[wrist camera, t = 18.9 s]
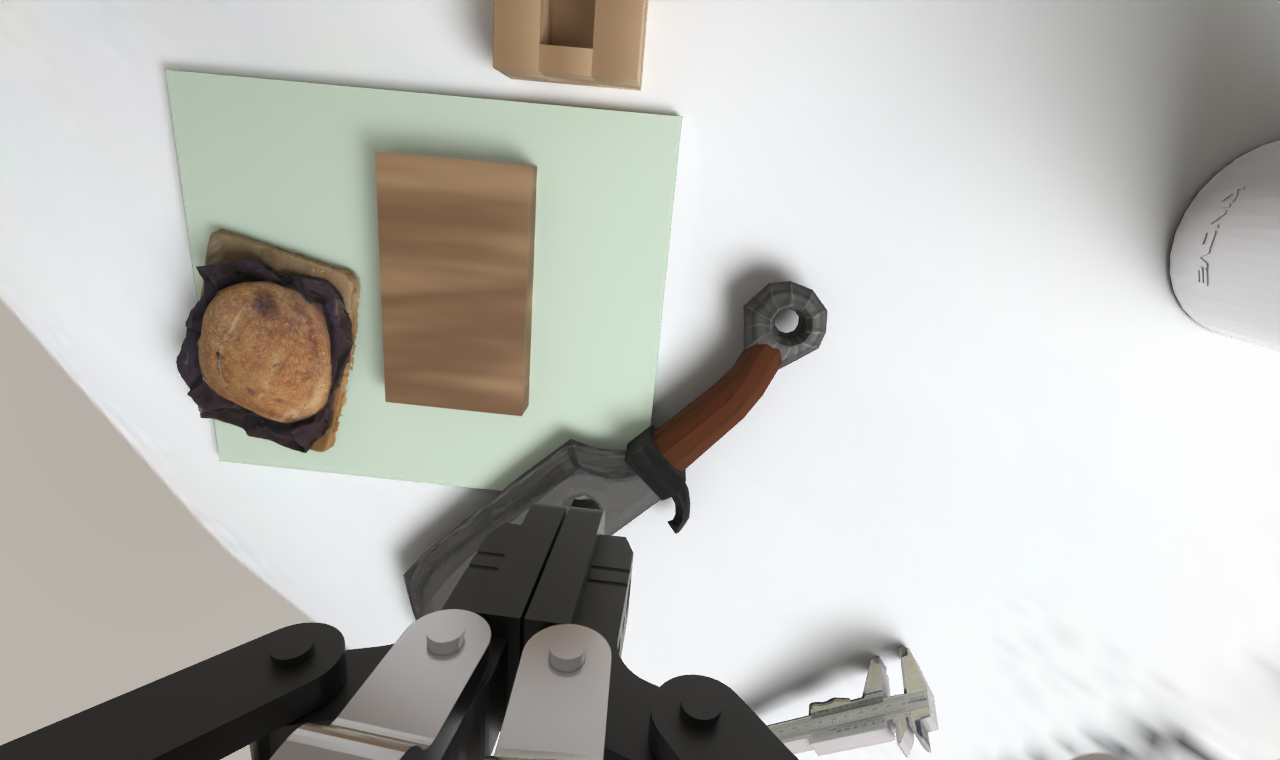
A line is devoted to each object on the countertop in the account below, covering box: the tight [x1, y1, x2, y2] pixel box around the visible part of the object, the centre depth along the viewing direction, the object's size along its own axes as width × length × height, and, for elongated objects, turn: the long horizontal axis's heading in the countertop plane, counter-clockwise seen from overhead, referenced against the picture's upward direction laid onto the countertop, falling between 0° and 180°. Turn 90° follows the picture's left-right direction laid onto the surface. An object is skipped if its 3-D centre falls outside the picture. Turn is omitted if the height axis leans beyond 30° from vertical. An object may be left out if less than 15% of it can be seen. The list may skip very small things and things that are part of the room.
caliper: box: [767, 647, 938, 757], centre depth 36 cm, size 20×1×6 cm, turn 122°
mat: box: [166, 70, 682, 501], centre depth 31 cm, size 24×20×1 cm
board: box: [375, 151, 538, 416], centre depth 30 cm, size 2×7×12 cm
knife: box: [404, 281, 827, 620], centre depth 33 cm, size 9×2×30 cm
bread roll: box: [176, 228, 361, 453], centre depth 30 cm, size 11×8×4 cm
